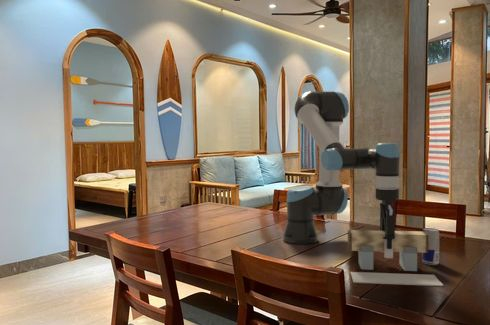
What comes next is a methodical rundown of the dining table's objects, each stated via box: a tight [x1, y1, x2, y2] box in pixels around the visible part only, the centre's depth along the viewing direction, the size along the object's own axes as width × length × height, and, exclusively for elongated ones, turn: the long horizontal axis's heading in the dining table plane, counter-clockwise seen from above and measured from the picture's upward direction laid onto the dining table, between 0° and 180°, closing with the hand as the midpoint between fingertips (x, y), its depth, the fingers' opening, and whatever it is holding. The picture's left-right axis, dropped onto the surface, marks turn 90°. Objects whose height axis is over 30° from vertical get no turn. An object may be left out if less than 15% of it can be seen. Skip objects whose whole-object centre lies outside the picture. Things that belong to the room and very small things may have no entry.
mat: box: [350, 271, 444, 287], centre depth 127 cm, size 26×9×1 cm, turn 81°
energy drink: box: [421, 227, 440, 266], centre depth 143 cm, size 5×5×12 cm
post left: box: [357, 245, 375, 271], centre depth 140 cm, size 4×7×8 cm, turn 171°
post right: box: [399, 247, 418, 272], centre depth 138 cm, size 4×7×8 cm, turn 171°
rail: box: [347, 229, 429, 254], centre depth 139 cm, size 26×5×6 cm, turn 81°
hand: (386, 254), depth 139 cm, fingers open, 6 cm apart
